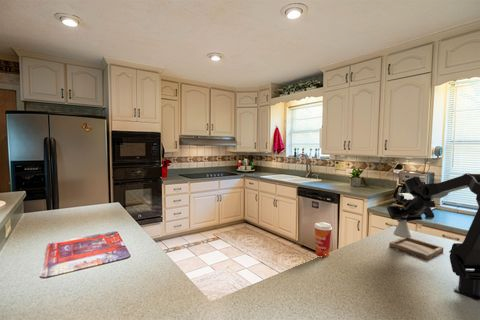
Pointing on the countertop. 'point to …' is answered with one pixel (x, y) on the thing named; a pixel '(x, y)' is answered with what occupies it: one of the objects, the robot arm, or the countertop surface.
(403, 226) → the flask
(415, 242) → the walnut tray
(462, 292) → the robot arm
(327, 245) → the paper cup
